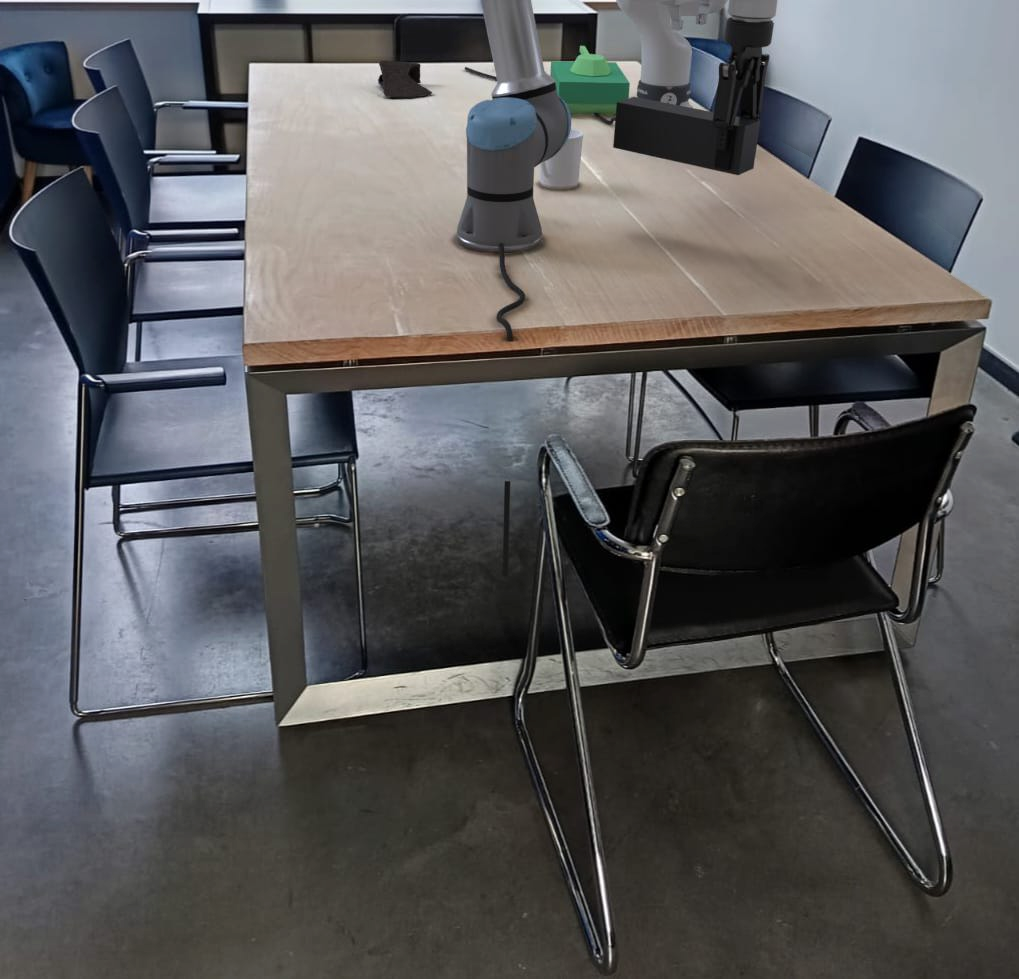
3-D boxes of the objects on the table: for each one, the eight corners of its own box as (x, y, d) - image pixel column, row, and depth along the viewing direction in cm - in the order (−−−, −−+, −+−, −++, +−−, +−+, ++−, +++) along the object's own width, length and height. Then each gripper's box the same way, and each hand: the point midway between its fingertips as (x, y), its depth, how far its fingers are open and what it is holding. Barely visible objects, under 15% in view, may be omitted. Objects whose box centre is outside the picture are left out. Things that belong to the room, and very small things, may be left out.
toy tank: (613, 42, 301) (631, 67, 272) (609, 89, 308) (626, 118, 278) (549, 41, 300) (560, 66, 271) (547, 88, 307) (557, 117, 277)
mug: (554, 175, 232) (556, 125, 226) (589, 183, 227) (592, 132, 222) (522, 186, 224) (523, 135, 219) (557, 195, 220) (559, 142, 214)
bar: (753, 168, 187) (760, 121, 183) (738, 175, 183) (745, 127, 179) (629, 141, 200) (633, 96, 196) (612, 147, 196) (616, 101, 192)
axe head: (443, 87, 294) (392, 77, 287) (436, 115, 299) (385, 106, 292) (421, 62, 307) (371, 52, 300) (414, 89, 311) (365, 80, 304)
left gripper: (755, 9, 183) (736, 149, 195) (701, 21, 170) (684, 171, 182) (797, 14, 179) (775, 157, 191) (745, 27, 166) (724, 180, 178)
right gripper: (708, -59, 210) (700, 19, 217) (653, -52, 196) (647, 31, 203) (738, -57, 207) (729, 22, 214) (684, -49, 193) (677, 35, 200)
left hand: (731, 164), depth 186 cm, fingers closed on bar, 6 cm apart
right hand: (688, 27), depth 208 cm, fingers open, 8 cm apart
